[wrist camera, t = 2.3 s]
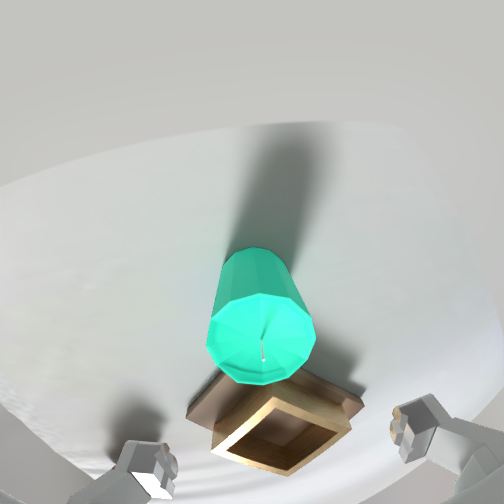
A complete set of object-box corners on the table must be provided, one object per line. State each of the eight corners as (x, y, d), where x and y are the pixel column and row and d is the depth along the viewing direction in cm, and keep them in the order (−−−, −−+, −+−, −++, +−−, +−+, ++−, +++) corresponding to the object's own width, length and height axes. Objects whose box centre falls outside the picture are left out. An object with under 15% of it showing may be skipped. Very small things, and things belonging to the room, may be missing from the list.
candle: (265, 233, 24) (285, 280, 13) (300, 289, 25) (341, 368, 14) (205, 271, 25) (177, 343, 13) (244, 323, 26) (245, 417, 14)
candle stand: (187, 409, 28) (180, 444, 23) (249, 338, 26) (250, 373, 21) (295, 453, 31) (301, 484, 26) (360, 398, 29) (376, 429, 24)
